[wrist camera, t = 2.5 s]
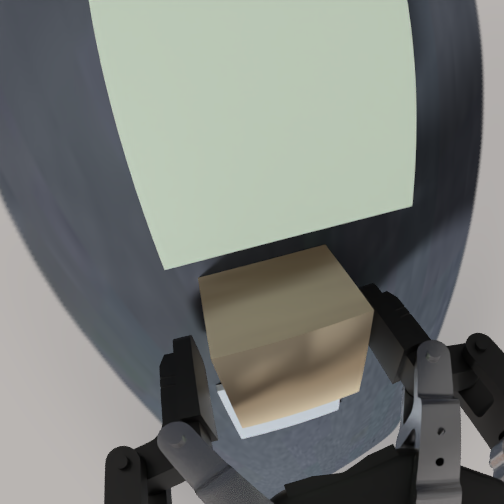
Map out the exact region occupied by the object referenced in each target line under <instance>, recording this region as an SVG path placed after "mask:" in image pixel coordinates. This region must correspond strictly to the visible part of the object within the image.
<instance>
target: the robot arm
mask: <svg viewBox="0 0 504 504" xmlns="http://www.w3.org/2000/svg"><path fill="white" fill-rule="evenodd" d="M358 289H359V290H360V291H361V293H362V294H363V295H364V297H365V298H366V300H367V301H368V302H369V304H370V305H371V306H372V308H373V309H374V314H373V320H372V326H371V332H370V338H369V344H368V345H369V346H370V348H371V350H372V351H373V353H374V354H375V356H376V358H377V359H378V361H379V363H380V364H381V366H382V368H383V369H384V371H385V372H386V374H387V376H388V377H389V379H390V381H391V382H392V384H394V383H396V382H398V381H400V380H401V382H402V383H403V385H404V386H403V389H402V407H401V422H400V430H399V434H398V437H397V441H396V447H394V445H393V444H392V445H390V446H388V447H385V448H383V449H381V450H379V451H377V452H374V453H372V454H370V455H368V456H367V457H365V458H364V459H363V460H361V461H360V462H358V463H357V464H355V465H354V466H353V467H351V468H350V469H348V470H347V471H345V472H343V473H337V474H329V475H320V476H312V477H309V478H305V479H302V480H299V481H296V482H292V483H289V484H285V485H284V486H285V490H283V491H281V492H279V493H278V494H277V495H275V496H274V497H273V498H271V499H270V500H269V499H268V498H266V497H265V496H264V495H263V494H262V493H260V492H259V491H258V490H257V489H256V488H255V487H254V486H252V485H251V484H250V483H249V482H248V481H247V480H246V479H245V478H243V477H242V476H241V475H240V474H239V473H238V472H237V471H236V470H235V469H234V468H232V467H231V466H230V465H228V464H227V463H226V462H225V461H224V460H223V459H222V458H221V457H220V456H219V455H218V454H217V453H216V452H215V451H214V450H213V448H212V441H217V440H218V436H217V431H216V426H215V421H214V415H213V410H212V405H211V399H210V393H209V388H208V382H207V376H206V370H205V366H204V363H203V360H202V357H201V355H200V353H199V350H198V348H197V346H196V344H195V341H194V339H193V337H192V336H191V335H189V336H185V337H181V338H177V339H173V352H174V353H171V354H166V355H164V356H163V359H162V361H161V364H160V379H161V380H160V387H161V405H162V419H163V424H162V429H161V430H160V432H159V434H158V436H157V437H156V438H155V439H154V440H152V441H151V442H149V443H146V444H145V445H143V446H140V447H138V448H136V449H132V448H130V447H127V446H120V447H117V448H115V449H113V450H112V451H111V452H110V453H109V454H108V456H107V458H106V463H105V500H104V504H172V499H171V487H173V486H175V485H178V484H180V483H182V482H184V481H187V482H188V483H189V484H190V486H191V487H192V488H193V489H194V490H195V493H196V494H197V495H198V497H199V498H200V499H201V500H202V501H203V502H204V503H205V504H504V353H503V352H502V350H500V348H499V347H498V346H497V345H496V344H495V343H494V342H493V341H492V340H491V338H489V337H488V336H487V335H485V334H482V333H475V334H472V335H470V336H469V337H468V339H467V341H466V343H464V344H458V345H451V346H446V345H445V344H443V343H442V342H439V341H437V340H431V339H430V338H429V337H428V335H427V334H426V333H425V331H424V330H423V329H422V328H421V326H420V325H419V324H418V322H417V321H416V320H415V319H414V317H413V316H412V315H411V314H410V312H409V311H408V310H407V309H406V307H404V305H403V304H402V302H401V301H400V300H399V299H398V298H397V297H396V296H394V295H393V294H391V293H389V292H388V291H386V292H383V293H382V292H381V291H380V290H379V288H378V287H377V286H376V285H375V284H374V283H372V284H369V285H366V286H363V287H360V288H358ZM460 406H461V408H462V409H463V410H464V412H465V413H466V415H467V416H468V417H469V418H470V420H471V421H472V423H473V424H474V426H475V427H476V428H477V430H478V431H479V433H480V434H481V436H482V437H483V438H484V440H485V441H486V443H487V444H488V446H489V447H490V449H491V452H490V461H489V465H490V467H492V468H493V470H494V474H493V477H492V476H489V475H486V474H483V473H480V472H477V471H474V470H471V469H469V468H466V467H463V466H461V465H460V460H461V417H460V416H461V415H460Z"/></svg>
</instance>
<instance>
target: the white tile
mask: <svg viewBox="0 0 504 504" xmlns="http://www.w3.org/2000/svg"><path fill="white" fill-rule="evenodd" d="M216 388H217V392H218V394H219V396H220V398H221V400H222V402H223V404H224V406H225V408H226V410H227V412H228V414H229V416H230V418H231V420H232V422H233V424H234V425H235V427H236V429H237V431H238V433H239V435H240V437H241V439H244V438H248V437H252V436H256V435H260V434H264V433H268V432H271V431H275V430H278V429H282V428H285V427H289V426H292V425H295V424H298V423H302V422H305V421H308V420H311V419H314V418H317V417H320V416H322V415H325V414H328V413H331V412H334V411H336V410H338V408H339V402H340V399H338V400H335V401H332V402H330V403H327V404H324V405H321V406H318V407H315V408H312V409H309V410H306V411H303V412H300V413H297V414H293V415H290V416H287V417H283V418H280V419H276V420H273V421H269V422H266V423H262V424H258V425H254V426H250V427H246V428H242V426H241V424H240V422H239V420H238V418H237V416H236V414H235V412H234V409H233V407H232V405H231V403H230V401H229V399H228V396H227V394H226V392H225V390H224V388H223V385H222V384H220V385H216Z"/></svg>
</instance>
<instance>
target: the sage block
mask: <svg viewBox="0 0 504 504" xmlns="http://www.w3.org/2000/svg"><path fill="white" fill-rule="evenodd" d="M89 4H90V10H91V16H92V22H93V27H94V32H95V37H96V42H97V47H98V52H99V57H100V61H101V66H102V70H103V74H104V79H105V83H106V87H107V91H108V95H109V99H110V103H111V107H112V111H113V114H114V118H115V122H116V125H117V129H118V133H119V136H120V140H121V143H122V147H123V150H124V153H125V157H126V160H127V163H128V166H129V170H130V173H131V176H132V179H133V182H134V185H135V188H136V192H137V195H138V198H139V201H140V204H141V206H142V209H143V212H144V215H145V218H146V221H147V224H148V227H149V229H150V232H151V235H152V238H153V240H154V243H155V246H156V249H157V251H158V254H159V257H160V259H161V262H162V264H163V267H164V270H167V269H171V268H175V267H178V266H182V265H186V264H190V263H194V262H197V261H201V260H205V259H209V258H213V257H217V256H220V255H224V254H228V253H232V252H236V251H240V250H244V249H247V248H251V247H255V246H259V245H263V244H267V243H271V242H274V241H278V240H282V239H286V238H290V237H294V236H298V235H301V234H305V233H309V232H313V231H317V230H321V229H325V228H329V227H333V226H337V225H340V224H344V223H348V222H352V221H356V220H360V219H364V218H368V217H372V216H376V215H380V214H383V213H387V212H391V211H395V210H399V209H403V208H407V207H411V206H412V203H413V191H414V178H415V160H416V82H415V65H414V52H413V41H412V32H411V24H410V16H409V9H408V3H407V0H89Z"/></svg>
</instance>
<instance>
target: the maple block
mask: <svg viewBox="0 0 504 504" xmlns="http://www.w3.org/2000/svg"><path fill="white" fill-rule="evenodd" d="M198 281H199V288H200V294H201V301H202V308H203V314H204V320H205V326H206V333H207V339H208V344H209V350H210V356H211V360H212V362H213V365H214V367H215V369H216V372H217V374H218V376H219V379H220V381H221V383H222V385H223V388H224V390H225V392H226V394H227V396H228V399H229V401H230V403H231V405H232V407H233V409H234V412H235V414H236V416H237V418H238V420H239V422H240V424H241V426H242V428H246V427H250V426H254V425H258V424H262V423H266V422H269V421H273V420H276V419H280V418H283V417H287V416H290V415H293V414H297V413H300V412H303V411H306V410H309V409H312V408H315V407H318V406H321V405H324V404H327V403H330V402H332V401H335V400H338V399H341V398H343V397H346V396H349V395H351V394H354V393H356V392H359V388H360V383H361V379H362V374H363V369H364V365H365V360H366V354H367V349H368V344H369V338H370V332H371V326H372V320H373V314H374V309H373V308H372V306H371V305H370V304H369V302H368V301H367V300H366V298H365V297H364V295H363V294H362V293H361V291H360V290H359V289H358V287H357V286H356V285H355V283H354V282H353V281H352V279H351V278H350V276H349V275H348V274H347V272H346V271H345V270H344V268H343V267H342V266H341V265H340V263H339V262H338V261H337V259H336V258H335V257H334V255H333V254H332V253H331V251H330V250H329V249H328V248H327V246H326V245H321V246H317V247H314V248H310V249H306V250H303V251H299V252H295V253H291V254H288V255H284V256H280V257H276V258H272V259H269V260H265V261H261V262H257V263H253V264H250V265H246V266H242V267H238V268H234V269H231V270H227V271H223V272H219V273H215V274H211V275H207V276H203V277H200V278H198Z"/></svg>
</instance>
